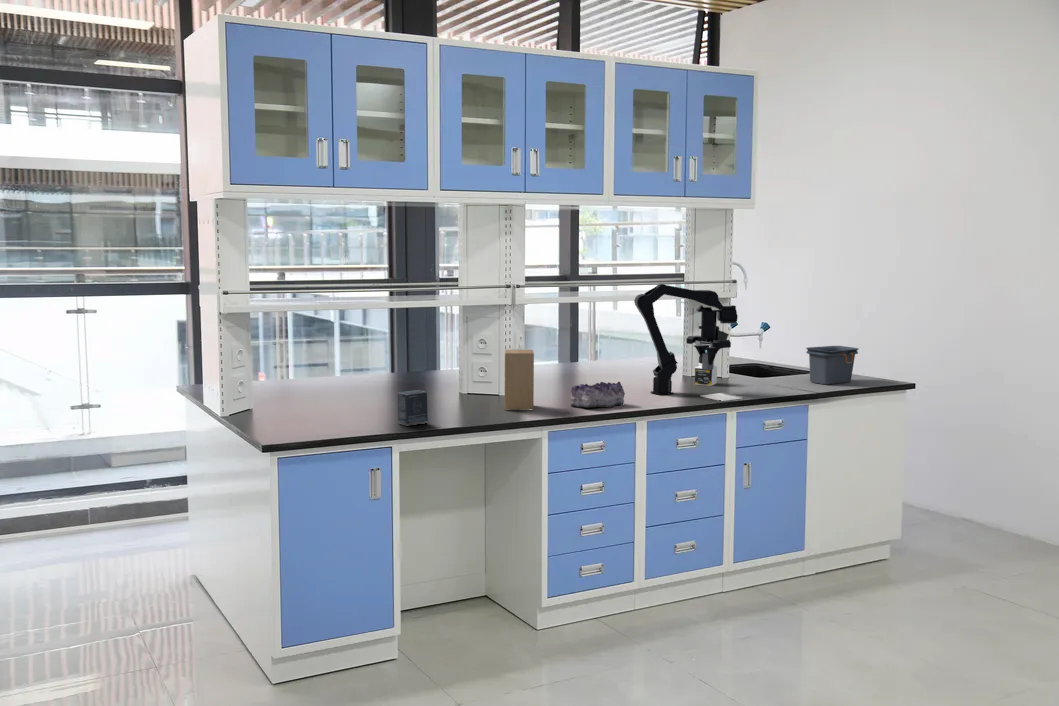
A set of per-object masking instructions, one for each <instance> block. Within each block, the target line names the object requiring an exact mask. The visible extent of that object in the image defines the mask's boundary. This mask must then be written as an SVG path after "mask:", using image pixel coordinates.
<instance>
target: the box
mask: <svg viewBox="0 0 1059 706" xmlns="http://www.w3.org/2000/svg"><path fill="white" fill-rule="evenodd" d="M397 411H398V412H397V414H398V416H397V417H398V418H397V420H398V421H400V422H403V423H407V424H409V423H416V422H424V421H428V419H429V418H428V416H429V415H428V392H427V391H425V390H421V389H414V390H408V391H400V392H397ZM428 422H429V421H428Z"/></svg>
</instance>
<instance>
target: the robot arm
mask: <svg viewBox="0 0 1059 706" xmlns="http://www.w3.org/2000/svg"><path fill="white" fill-rule="evenodd" d="M663 296H671V297H676V298H681V299H685V300H686V299H687V300H691V301H695V302H697V303H700V305H699V306H698V307H697V308H696V310H695V311H696V312H697V313H701V316H700V317H701V320H700V321H701V322H700V324H701V325H699V326H698V330H700V335H689V336H687V337H686V344H689V345H692V344H694V343H695V345H693V348H695V349H696V351H697V354H698V355H699V356H700V357H701V359H702V353H705V350H707V354H708V361H709V365H712V364H713V361H714V362H715V359H716V355H717V353H718V352H719V351H720V350H722V349H729V348H731V345H732V342H731V340H729V339H728V336H729V333H727V332H725V331H722V330H720V326H719V325H717V321H718V322H720V324H736V323H737V322H738V318H739V317H738V313H737V305H723V304H722V303H721V302H720V300H719V295H718V293H717V292H716V291H713V290H710V289H691V288H690V289H688V288H683V287H678V286H672V285H669V284H667V285H666V284H664V283H659V284H657V285H656V286H655V287H653V288H651V289H649V290H647V291H646V292H644V293H639V294H638V295H636V296H635V298H634V300H633V301H634V305H635V307H636V309H637V310H638V312H639V314H640V315H641V316H642V318H643V319H644V322H645V325H646V327H647V330H648V333H649V336H650V337H651V340H652V343H653V345H654V346H653V347H655V349H654V350H655V351H656V358H657V364H658V366H656V367H655V368H654V369H653V370H652V374H653V376H654V377H653V378H652V379H653V380H652V384H653V385H652V390H651V391H650V394H654V395H659V396H665V395H673V394H674V392H673V391H672V389H673V388H672V386H673V385H672V384H673V383H672V377H673V375H674V374H675V373H676V371H677V369H678V366H677V364H679V363H678V362H677V360H676V355H675V353H674V352H672V351H669V350H668V349H667V346H666V343H665V340H664V338H663V336H662V333H661V330H660V327H659V325H658V322H657V319H656V317H655V308H654V303H655V302H657V301H658V300H659V299H660V298H661V297H663ZM701 304H702V305H701ZM703 305H705V306H706V307H704V306H703ZM713 308H715V309H713Z"/></svg>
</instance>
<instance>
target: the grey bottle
mask: <svg viewBox="0 0 1059 706" xmlns="http://www.w3.org/2000/svg"><path fill="white" fill-rule="evenodd" d="M713 366H715V360H714V361H713V364H712V365H709V361H708V354H707V350H705V353H702V369H705V370H712V369H713Z"/></svg>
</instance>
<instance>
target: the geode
mask: <svg viewBox="0 0 1059 706" xmlns="http://www.w3.org/2000/svg"><path fill="white" fill-rule="evenodd" d="M570 393H571V396H570V407H577V408H587V409H588V408H599V407H600V408H613V407H615V406H617V405H619V406H622V405H623V404H624V403H625V395H626V392H625V390H624V388H623V385H622V384H621V382H620V381H618V382H617V383H616V382H613V383H611V382H603V381H599V382H596V383H594V384H592V385H591V384H590V385H589V384H587V383H585V384H584V383H581V384H578V385H574V386H572V387H571V389H570ZM624 405H625V404H624ZM624 405H623V406H624Z"/></svg>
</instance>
